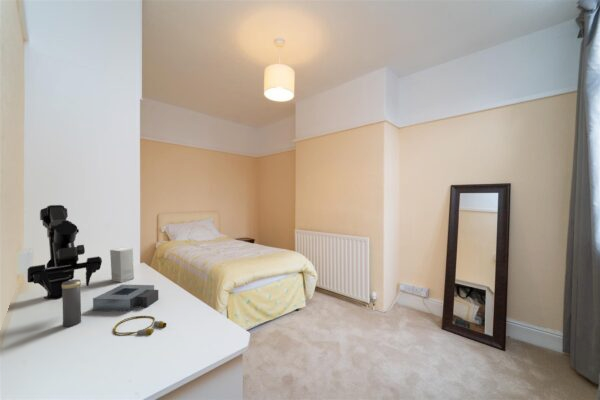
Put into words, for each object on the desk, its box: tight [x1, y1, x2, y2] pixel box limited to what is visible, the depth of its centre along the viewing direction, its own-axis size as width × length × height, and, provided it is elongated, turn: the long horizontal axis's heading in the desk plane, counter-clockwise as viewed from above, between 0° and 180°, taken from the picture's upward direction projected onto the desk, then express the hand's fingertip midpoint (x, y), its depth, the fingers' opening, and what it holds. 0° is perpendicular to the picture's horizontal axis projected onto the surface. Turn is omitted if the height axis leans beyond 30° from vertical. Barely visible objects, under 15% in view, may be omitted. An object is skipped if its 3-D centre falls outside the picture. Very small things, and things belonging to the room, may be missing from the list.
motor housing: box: [92, 284, 159, 313], centre depth 97 cm, size 18×14×4 cm
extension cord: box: [113, 315, 167, 336], centre depth 80 cm, size 12×16×2 cm
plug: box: [61, 279, 82, 328], centre depth 81 cm, size 5×5×14 cm
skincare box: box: [109, 246, 135, 283], centre depth 123 cm, size 8×7×16 cm
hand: (70, 289), depth 83 cm, fingers open, 9 cm apart
